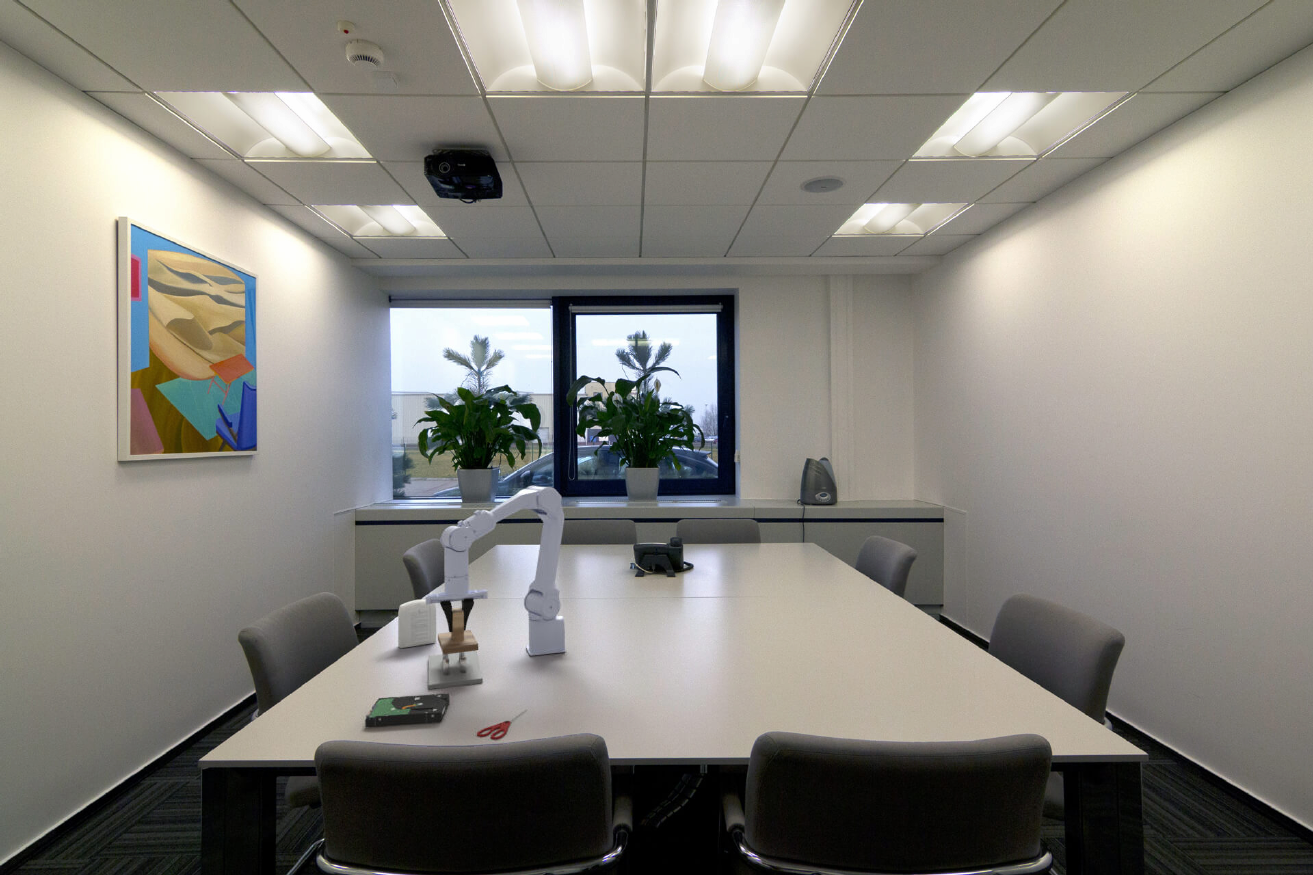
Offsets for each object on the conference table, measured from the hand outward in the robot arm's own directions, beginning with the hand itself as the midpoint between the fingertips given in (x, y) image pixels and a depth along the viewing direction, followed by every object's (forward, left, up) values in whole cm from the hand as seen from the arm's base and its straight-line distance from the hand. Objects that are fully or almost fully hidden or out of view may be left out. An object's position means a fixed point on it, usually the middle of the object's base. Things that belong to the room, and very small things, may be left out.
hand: (457, 630), depth 166 cm
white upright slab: (+10, -27, -10) cm, 30 cm away
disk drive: (+10, +24, -11) cm, 28 cm away
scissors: (-8, +35, -11) cm, 38 cm away
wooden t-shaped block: (0, 0, -3) cm, 3 cm away
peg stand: (+1, -1, -10) cm, 10 cm away
